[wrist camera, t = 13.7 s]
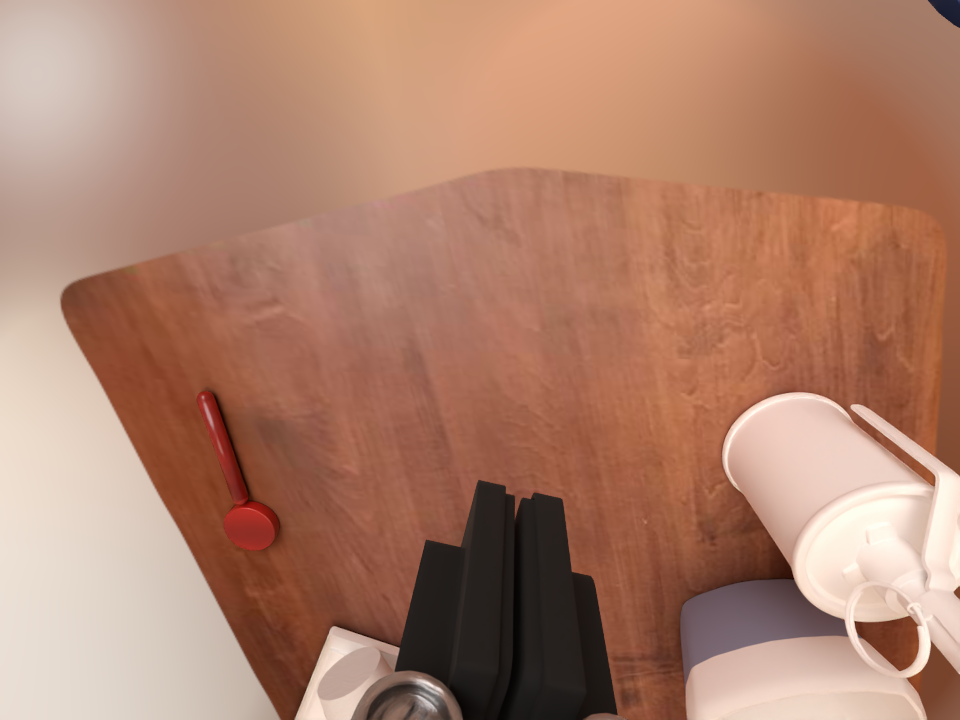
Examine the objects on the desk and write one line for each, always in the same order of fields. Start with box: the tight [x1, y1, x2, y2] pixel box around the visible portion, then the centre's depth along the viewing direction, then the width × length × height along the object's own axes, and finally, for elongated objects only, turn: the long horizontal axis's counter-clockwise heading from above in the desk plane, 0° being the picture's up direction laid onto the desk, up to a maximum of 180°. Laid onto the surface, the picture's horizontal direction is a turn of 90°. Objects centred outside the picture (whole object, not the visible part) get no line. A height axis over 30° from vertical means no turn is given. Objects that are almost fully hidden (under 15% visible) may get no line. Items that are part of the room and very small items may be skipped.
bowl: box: [680, 579, 927, 720], centre depth 40 cm, size 15×15×11 cm
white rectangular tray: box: [295, 626, 400, 720], centre depth 52 cm, size 11×2×19 cm
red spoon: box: [197, 391, 279, 550], centre depth 43 cm, size 15×4×1 cm, turn 8°
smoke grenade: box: [722, 392, 960, 678], centre depth 30 cm, size 10×9×20 cm
